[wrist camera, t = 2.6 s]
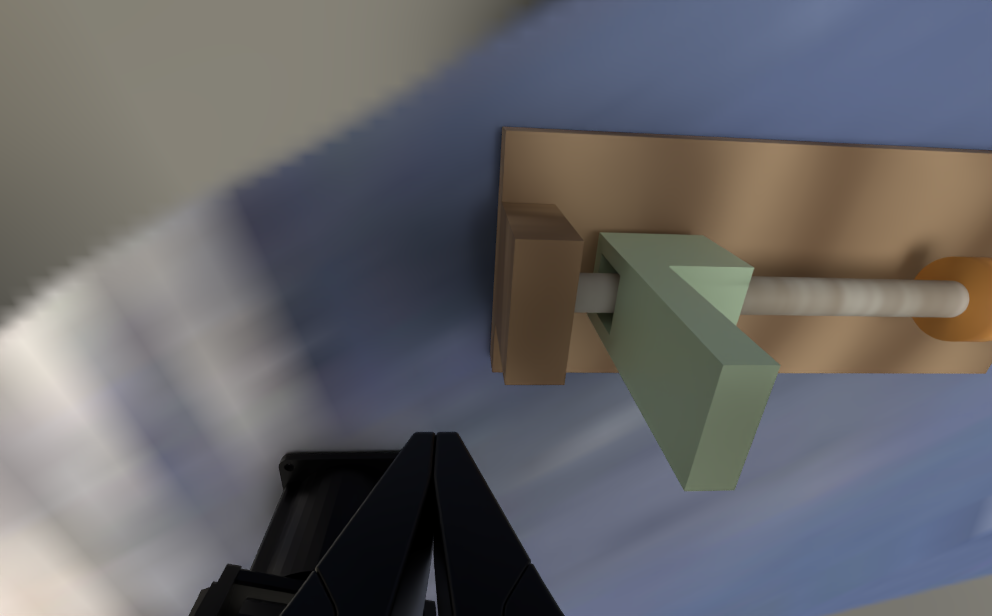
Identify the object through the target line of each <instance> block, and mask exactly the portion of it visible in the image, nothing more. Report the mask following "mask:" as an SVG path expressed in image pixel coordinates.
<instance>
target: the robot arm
mask: <svg viewBox="0 0 992 616" xmlns="http://www.w3.org/2000/svg"><path fill="white" fill-rule="evenodd" d="M289 464H292V465H289ZM279 471H280V476H281V481H282V486H283V493H282V496H281V498H280V500H279V503H278V505H277V507H276V510H275V512H274V515H273V517H272V519H271V522H270V524H269V526H268V529H267V531H266V533H265V536H264V538H263V540H262V543H261V545H260V548H259V550H258V552H257V555H256V557H255V559H254V562H253V564H252V566H251V569H250V570H246V569H241V567H242V566H238V565H232V564H227V566H226V567H225V569H224V571H223V573H222V575H221V576H220V578H219V580H218V582H214V581H213V582H212V584H211V586H210V587H209V588H206V589H203V590H201V592H200V594H199V596H198V598H197V600H196V602H195V604H194V606H193V608H192V610H191V612H190V614H189V616H436V607H435V601H430V600H425V597H426V591H427V585H428V578H429V572H430V566H431V558H432V550H433V551H434V568H435V581H436V593H437V605H438V616H565V615H564V614H563V612H562V611H561V610H560V608H559V606H558V605H557V603H556V601H555V600H554V598H553V597H552V595H551V593H550V592H549V590H548V589H547V587H546V585H545V584H544V582H543V580H542V579H541V577H540V575H539V573H538V572H537V570H536V568H535V566H534V565H533V564H531V560H530V558H529V556H528V554H527V553H526V551H525V549H524V547H523V546H522V544H521V542H520V540H519V539H518V537H517V535H516V534H515V532H514V530H513V528H512V527H511V525H510V523H509V521H508V520H507V518H506V516H505V514H504V513H503V511H502V509H501V507H500V506H499V504H498V502H497V500H496V499H495V497H494V495H493V493H492V492H491V490H490V488H489V486H488V485H487V483H486V481H485V479H484V478H483V476H482V474H481V472H480V471H479V469H478V467H477V465H476V464H475V462H474V460H473V458H472V457H471V455H470V453H469V451H468V450H467V448H466V446H465V444H464V443H463V441H462V439H461V437H460V436H459V434H458V433H457V432H438V433H437V434H436V435H435V433H434V432H415V433H414V434H413V435H412V436H411V438H410V439H409V440H408V442H407V443H406V444H405V446H404V447H403V449H402V450H401V451H400V453H330V454H287V455H285V456H284V457H283V458H282V460H281V462H280V464H279Z"/></svg>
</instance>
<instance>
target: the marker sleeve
mask: <svg viewBox="0 0 992 616" xmlns="http://www.w3.org/2000/svg"><path fill="white" fill-rule="evenodd" d="M753 270H754V267H753V266H751V265H749V264H748V263H746V262H745V261H743V260H741V259H740V258H738V257H737V256H735V255H734V254H732V253H730V252H729V251H727V250H726V249H724V248H722V247H721V246H719V245H718V244H716V243H715V242H713V241H711V240H710V239H708V238H707V237H705V236H704V235H677V234H643V233H609V232H599V239H598V245H597V252H596V259H595V265H594V272H593V273H619V275H620V281H619V286H618V292H617V297H616V303H615V308H614V313H587V315H588V317H589V319H590V321H591V323H592V324H593V326H594V328H595V330H596V332H597V334H598V335H599V337H600V339H601V341H602V343H603V344H604V346H605V348H606V350H607V352H608V353H609V355H610V357H611V359H612V361H613V363H614V364H615V366H616V368H617V370H618V372H619V373H620V375H621V377H622V379H623V381H624V383H625V384H626V386H627V388H628V390H629V392H630V393H631V395H632V397H633V399H634V401H635V402H636V404H637V406H638V408H639V410H640V412H641V413H642V415H643V417H644V419H645V421H646V422H647V424H648V426H649V428H650V430H651V432H652V433H653V435H654V437H655V439H656V441H657V442H658V444H659V446H660V448H661V450H662V451H663V453H664V455H665V457H666V459H667V461H668V462H669V464H670V466H671V468H672V470H673V471H674V473H675V475H676V477H677V479H678V481H679V482H680V484H681V486H682V488H683V490H684V491H718V490H735V487H736V484H737V482H738V479H739V476H740V474H741V471H742V468H743V466H744V463H745V460H746V457H747V455H748V452H749V449H750V447H751V444H752V441H753V439H754V436H755V433H756V431H757V428H758V425H759V422H760V420H761V417H762V414H763V412H764V409H765V406H766V404H767V401H768V398H769V396H770V393H771V390H772V388H773V385H774V382H775V379H776V377H777V374H778V371H779V369H780V366H781V365H780V364H779V363H777V362H776V361H775V360H774V359H773V358H772V357H771V356H770V355H768V354H767V353H766V352H765V351H764V350H763V349H762V348H760V347H759V346H758V345H757V344H756V343H755V342H754V341H753V340H751V339H750V338H749V337H748V336H747V335H746V334H745V333H744V332H742V331H741V330H740V329H739V328H738V327H737V326H736V325H737V322H738V319H739V316H740V312H741V309H742V306H743V303H744V299H745V296H746V293H747V290H748V287H749V283H750V280H751V277H752V274H753Z"/></svg>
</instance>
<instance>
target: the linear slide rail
mask: <svg viewBox="0 0 992 616" xmlns="http://www.w3.org/2000/svg"><path fill="white" fill-rule="evenodd" d="M599 232H609V233H643V234H677V235H704V236H705V237H707V238H708V239H710V240H711V241H713V242H715V243H716V244H718V245H719V246H721V247H722V248H724V249H726V250H727V251H729V252H730V253H732V254H734V255H735V256H737V257H738V258H740V259H741V260H743V261H745V262H746V263H748V264H749V265H751V266H753V267H754V270H753V274H752V277H751V280H750V283H749V287H748V290H747V293H746V296H745V299H744V303H743V306H742V309H741V312H740V316H739V319H738V322H737V325H736V326H737V327H738V328H739V329H740V330H741V331H742V332H744V333H745V334H746V335H747V336H748V337H749V338H750V339H751V340H753V341H754V342H755V343H756V344H757V345H758V346H759V347H760V348H762V349H763V350H764V351H765V352H766V353H767V354H768V355H770V356H771V357H772V358H773V359H774V360H775V361H776V362H777V363H779V364H780V365H781V366H780V369H779V371H778V373H986V372H987V370H988V369H989V367H990V365H991V364H992V150H972V149H952V148H931V147H911V146H890V145H870V144H849V143H829V142H808V141H788V140H767V139H747V138H726V137H705V136H685V135H664V134H644V133H623V132H603V131H582V130H562V129H541V128H521V127H502V142H501V161H500V180H499V198H498V217H497V236H496V254H495V273H494V292H493V310H492V329H491V348H490V357H491V366H492V372H503V376H504V383H505V385H564V383H565V376H566V372H570V373H619V372H618V370H617V368H616V366H615V364H614V363H613V361H612V359H611V357H610V355H609V353H608V352H607V350H606V348H605V346H604V344H603V343H602V341H601V339H600V337H599V335H598V334H597V332H596V330H595V328H594V326H593V324H592V323H591V321H590V319H589V317H588V315H587V313H614V308H615V303H616V297H617V292H618V286H619V281H620V275H619V273H593V272H594V265H595V259H596V252H597V245H598V239H599Z"/></svg>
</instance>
